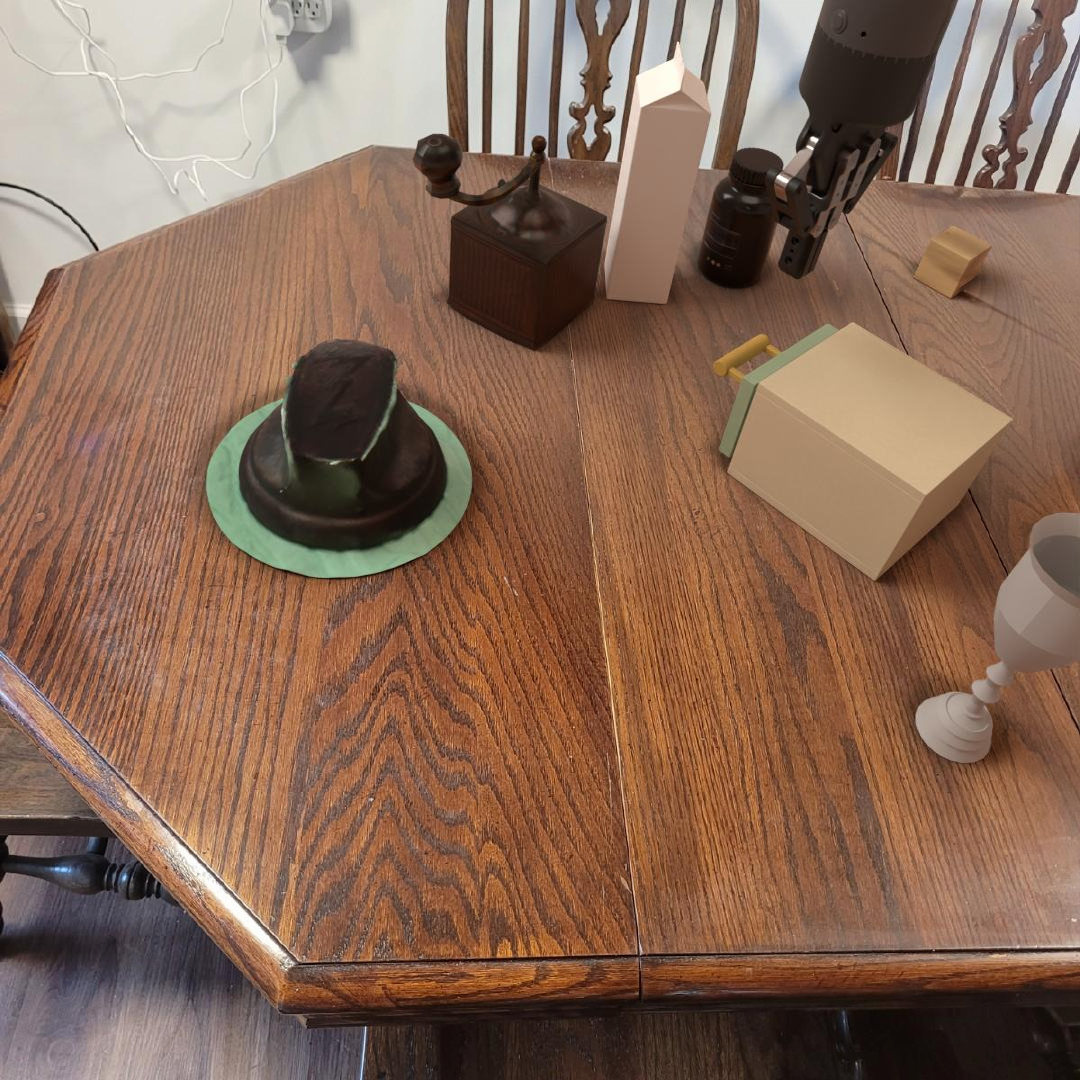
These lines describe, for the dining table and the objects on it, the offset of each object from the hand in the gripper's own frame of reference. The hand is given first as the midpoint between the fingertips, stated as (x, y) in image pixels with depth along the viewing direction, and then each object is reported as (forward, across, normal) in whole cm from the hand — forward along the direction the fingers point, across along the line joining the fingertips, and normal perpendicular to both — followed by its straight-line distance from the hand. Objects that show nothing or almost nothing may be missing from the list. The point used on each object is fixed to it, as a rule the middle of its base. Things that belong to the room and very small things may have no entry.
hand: (794, 270), depth 70 cm
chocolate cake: (+15, -31, +15) cm, 38 cm away
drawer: (+14, 0, -6) cm, 15 cm away
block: (+15, +35, 0) cm, 38 cm away
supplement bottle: (+15, +17, +15) cm, 28 cm away
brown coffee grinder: (+15, -7, +23) cm, 29 cm away
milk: (+15, +7, +19) cm, 26 cm away
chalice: (+15, -13, -29) cm, 35 cm away
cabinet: (+15, 0, -11) cm, 18 cm away
